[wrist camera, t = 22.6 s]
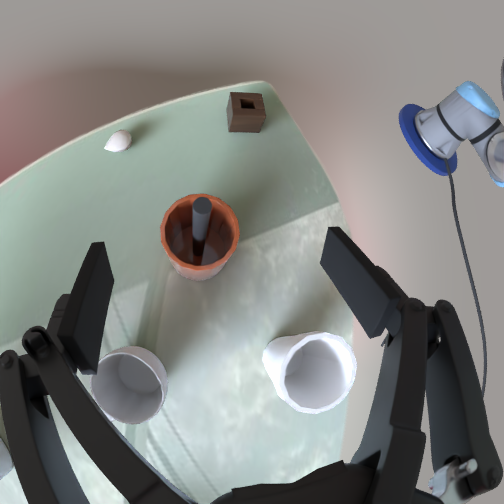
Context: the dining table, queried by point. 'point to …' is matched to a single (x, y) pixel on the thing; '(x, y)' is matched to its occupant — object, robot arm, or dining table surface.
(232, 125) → the holder
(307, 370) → the foam cup
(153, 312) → the dining table surface
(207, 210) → the rod
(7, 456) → the cylinder vase
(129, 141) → the white seashell
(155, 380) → the mug
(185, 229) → the tumbler
